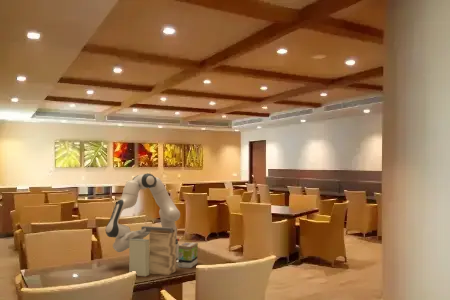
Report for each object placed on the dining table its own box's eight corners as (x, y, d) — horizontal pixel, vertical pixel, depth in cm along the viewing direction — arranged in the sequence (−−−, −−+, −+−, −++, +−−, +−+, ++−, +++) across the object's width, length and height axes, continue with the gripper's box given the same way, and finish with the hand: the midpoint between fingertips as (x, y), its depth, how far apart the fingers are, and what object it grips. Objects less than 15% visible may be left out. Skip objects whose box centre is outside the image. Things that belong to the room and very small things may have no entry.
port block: (133, 273, 264) (133, 238, 265) (149, 274, 260) (149, 239, 261) (129, 274, 260) (129, 239, 261) (145, 276, 256) (145, 240, 257)
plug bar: (143, 230, 274) (143, 226, 274) (173, 232, 266) (173, 227, 266) (141, 231, 271) (141, 226, 272) (170, 233, 263) (170, 228, 263)
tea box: (192, 268, 276) (191, 246, 277) (177, 267, 278) (177, 245, 279) (197, 263, 291) (197, 242, 292) (184, 262, 293) (184, 241, 294)
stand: (157, 269, 273) (157, 228, 274) (175, 271, 268) (175, 229, 269) (149, 273, 264) (149, 230, 265) (168, 275, 259) (168, 231, 260)
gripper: (121, 236, 266) (137, 226, 262) (139, 231, 285) (154, 222, 281) (125, 244, 265) (141, 235, 261) (143, 239, 284) (158, 230, 280)
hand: (148, 228), depth 271 cm, fingers closed on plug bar, 3 cm apart
